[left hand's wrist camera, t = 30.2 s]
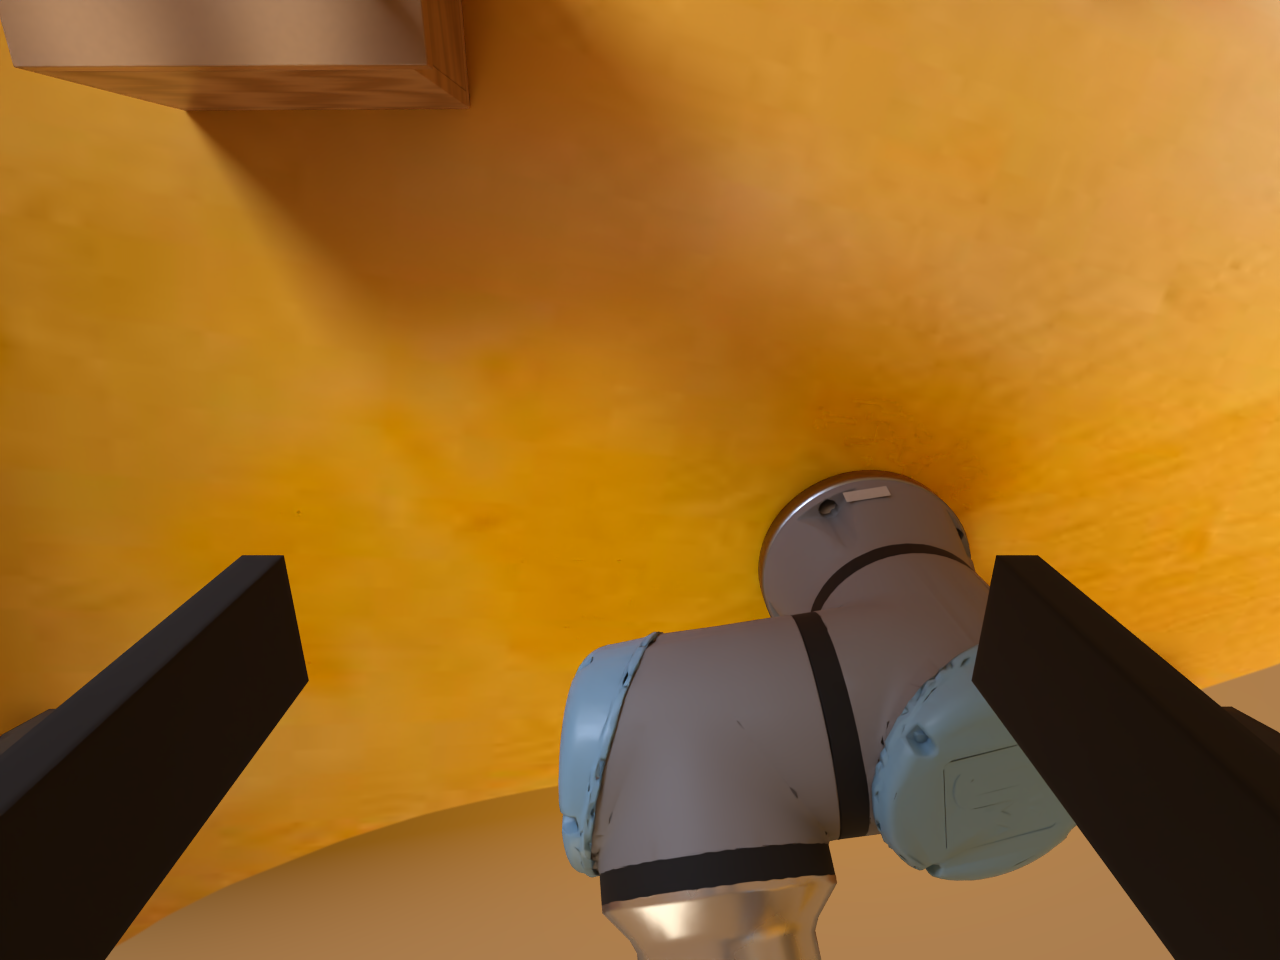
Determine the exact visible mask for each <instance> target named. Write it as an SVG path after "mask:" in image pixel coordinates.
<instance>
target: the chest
mask: <svg viewBox="0 0 1280 960" xmlns="http://www.w3.org/2000/svg"><path fill="white" fill-rule="evenodd" d="M427 9H428V20H429V30H430V41H431V51H432V62H433V69H410V70H237V71H63V72H35V73H39V74H43V75H47V76H51V77H55V78H59V79H63V80H67V81H71V82H74V83H78V84H82V85H86V86H90V87H94V88H98V89H102V90H106V91H110V92H114V93H118V94H122V95H125V96H129V97H133V98H137V99H141V100H145V101H149V102H153V103H157V104H161V105H165V106H169V107H173V108H177V109H181V110H329V109H469V108H470V100H469V88H468V76H467V63H466V51H465V38H464V26H463V13H462V1H461V0H427Z"/></svg>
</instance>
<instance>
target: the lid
mask: <svg viewBox="0 0 1280 960" xmlns="http://www.w3.org/2000/svg"><path fill="white" fill-rule="evenodd" d="M0 19H1V22H2V26H3V29H4V33H5V36H6V40H7V44H8V47H9V51H10V54H11V58H12V62H13V65H14V67H16V68H19V69H23V70H27V71H31V72H63V71H237V70H410V69H433V62H432V51H431V41H430V30H429V20H428V9H427V0H0Z"/></svg>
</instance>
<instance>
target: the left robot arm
mask: <svg viewBox="0 0 1280 960" xmlns="http://www.w3.org/2000/svg"><path fill="white" fill-rule="evenodd" d="M758 572H759V582H760V588H761V591H762V594H763V598H764V601H765V604H766V607H767V609H768V611H769V614H770V616H771V618H766V619H759V620H753V621H747V622H740V623H734V624H728V625H721V626H715V627H708V628H701V629H693V630H686V631H679V632H672V633H663V632H653V633H651V634H649V635H648V636H646V637H644V638H639V639H635V640H630V641H626V642H621V643H616V644H611V645H606V646H603V647H600V648H598V649H596V650H595V651H593V652H592V653H590V654H589V655H588V656H587V657H586V658H585V659H584V661H583V662H582V664H581V665H580V666H579V668H578V670H577V673H576V675H575V677H574V679H573V681H572V684H571V687H570V690H569V694H568V698H567V702H566V707H565V713H564V719H563V726H562V733H561V744H560V758H559V806H560V811H561V813H563V825H562V835H563V842H564V847H565V851H566V855H567V857H568V860H569V862H570V864H571V865H572V867H573V868H574V869H575V870H577V871H578V872H581V873H585V874H586V875H588V876H589V877H596V876H600V886H601V901H602V913H603V914H604V915H605V916H606V917H607V918H608V919H609V920H610V921H611V922H612V923H613V924H614V925H615V926H616V927H617V928H618V929H619V930H620V931H621V932H622V933H623V934H624V935H625V936H626V937H627V938H628V939H629V940H630V942H631V943H632V945H633V947H634V949H635V950H636V952H637V957H638V960H821V956H820V952H819V947H818V942H817V937H816V932H815V928H816V924H817V920H818V917H819V915H820V913H821V911H822V909H823V908H824V906H825V904H826V902H827V900H828V898H829V897H830V895H831V893H832V891H833V889H834V887H835V886H836V884H837V881H836V875H835V872H834V867H833V863H832V858H831V854H830V850H829V841H832V840H839V839H845V838H853V837H860V836H869V835H876V834H881V835H882V838H883V840H884V842H885V843H887V844H888V846H889V848H891V849H893V850H894V851H895V853H896V854H897V855H898V856H899V857H900V858H901V859H902V860H903V861H904V862H906V863H907V864H908V865H909V866H911V867H913V868H915V869H918V870H923V869H925V868H926V870H927V871H928V873H929V874H931V875H932V876H934V877H937V878H941V879H946V880H979V879H985V878H990V877H995V876H998V875H1002V874H1005V873H1008V872H1011V871H1014V870H1016V869H1019V868H1021V867H1023V866H1025V865H1027V864H1029V863H1031V862H1033V861H1035V860H1036V859H1038V858H1040V857H1042V856H1043V855H1045V854H1046V853H1048V852H1049V851H1050V850H1051V849H1053V848H1054V847H1055V846H1057V845H1058V844H1059V843H1061V842H1062V841H1063V840H1064V839H1065V838H1066V837H1067V835H1068V833H1069V832H1070V831H1071V829H1072V828H1074V827H1075V826H1076V825H1077V826H1078V827H1079V829H1080V830H1081V832H1082V833H1083V834H1084V836H1085V837H1086V838H1087V840H1088V841H1089V842H1090V844H1091V845H1092V847H1093V848H1094V849H1095V851H1096V852H1097V854H1098V855H1099V856H1100V858H1101V859H1102V860H1103V862H1104V863H1105V864H1106V866H1107V867H1108V869H1109V870H1110V871H1111V873H1112V874H1113V875H1114V877H1115V878H1116V880H1117V881H1118V882H1119V884H1120V885H1121V886H1122V888H1123V889H1124V891H1125V892H1126V893H1127V895H1128V896H1129V897H1130V899H1131V900H1132V901H1133V903H1134V904H1135V906H1136V907H1137V908H1138V910H1139V911H1140V912H1141V914H1142V915H1143V916H1144V918H1145V919H1146V921H1147V922H1148V923H1149V925H1150V926H1151V927H1152V929H1153V930H1154V931H1155V933H1156V934H1157V936H1158V937H1159V938H1160V940H1161V941H1162V943H1163V944H1164V945H1165V947H1166V948H1167V949H1168V951H1169V952H1170V953H1171V955H1172V956H1173V958H1174V959H1175V960H1280V733H1279V732H1277V731H1275V730H1274V729H1272V728H1270V727H1268V726H1266V725H1264V724H1263V723H1261V722H1259V721H1257V720H1255V719H1253V718H1251V717H1250V716H1248V715H1246V714H1244V713H1242V712H1240V711H1239V710H1237V709H1235V708H1233V707H1221V706H1220V705H1218V704H1217V703H1216V702H1215V701H1213V700H1212V699H1211V698H1210V697H1209V696H1208V695H1206V694H1205V693H1204V692H1203V691H1202V690H1200V689H1199V688H1198V687H1197V686H1195V685H1194V684H1193V683H1192V682H1191V681H1189V680H1188V679H1187V678H1186V677H1185V676H1183V675H1182V674H1181V673H1180V672H1178V671H1177V670H1176V669H1175V668H1174V667H1172V666H1171V665H1170V664H1169V663H1168V662H1166V661H1165V660H1164V659H1163V658H1162V657H1160V656H1159V655H1158V654H1157V653H1155V652H1154V651H1153V650H1152V649H1151V648H1149V647H1148V646H1147V645H1146V644H1145V643H1143V642H1142V641H1141V640H1140V639H1139V638H1137V637H1136V636H1135V635H1134V634H1132V633H1131V632H1130V631H1129V630H1128V629H1126V628H1125V627H1124V626H1123V625H1122V624H1120V623H1119V622H1118V621H1117V620H1116V619H1114V618H1113V617H1112V616H1111V615H1109V614H1108V613H1107V612H1106V611H1105V610H1103V609H1102V608H1101V607H1100V606H1099V605H1097V604H1096V603H1095V602H1094V601H1092V600H1091V599H1090V598H1089V597H1088V596H1086V595H1085V594H1084V593H1083V592H1082V591H1080V590H1079V589H1078V588H1077V587H1076V586H1074V585H1073V584H1072V583H1071V582H1069V581H1068V580H1067V579H1066V578H1065V577H1063V576H1062V575H1061V574H1060V573H1059V572H1057V571H1056V570H1055V569H1054V568H1053V567H1051V566H1050V565H1049V564H1048V563H1046V562H1045V561H1044V560H1043V559H1042V558H1040V557H1039V556H1038V555H996V559H995V564H994V569H993V574H992V579H991V584H990V586H989V585H988V584H987V583H986V582H985V581H984V580H983V579H982V578H981V577H980V576H978V575H977V573H976V572H975V569H974V565H973V562H972V560H971V554H970V549H969V543H968V540H967V536H966V533H965V531H964V529H963V526H962V524H961V523H960V521H959V519H958V518H957V516H956V515H955V514H954V512H953V511H952V510H951V509H950V508H949V507H948V505H947V504H946V503H944V502H943V501H942V500H941V499H940V498H939V497H938V496H937V495H936V494H934V493H933V492H932V491H931V490H930V489H928V488H927V487H925V486H924V485H923V484H921V483H919V482H917V481H915V480H913V479H911V478H909V477H906V476H904V475H900V474H897V473H892V472H887V471H878V470H861V471H852V472H847V473H842V474H839V475H835V476H832V477H830V478H827V479H824V480H822V481H820V482H818V483H816V484H814V485H812V486H811V487H809V488H807V489H806V490H804V491H803V492H801V493H800V494H799V495H797V496H796V497H795V498H794V499H793V500H791V501H790V502H789V503H788V504H787V505H786V506H785V507H784V508H783V509H782V511H781V512H780V513H779V514H778V516H777V517H776V518H775V520H774V521H773V523H772V524H771V526H770V528H769V530H768V532H767V534H766V536H765V539H764V541H763V544H762V548H761V551H760V557H759V567H758ZM308 681H309V680H308V675H307V670H306V665H305V660H304V655H303V650H302V645H301V640H300V635H299V630H298V625H297V620H296V615H295V610H294V605H293V600H292V595H291V589H290V584H289V579H288V574H287V569H286V564H285V559H284V555H242V556H241V557H240V558H238V559H237V560H236V561H235V562H234V563H232V564H231V565H230V566H229V567H227V568H226V569H225V570H224V571H223V572H221V573H220V574H219V575H218V576H217V577H215V578H214V579H213V580H212V581H211V582H209V583H208V584H207V585H206V586H204V587H203V588H202V589H201V590H200V591H198V592H197V593H196V594H195V595H194V596H192V597H191V598H190V599H189V600H188V601H186V602H185V603H184V604H183V605H181V606H180V607H179V608H178V609H177V610H175V611H174V612H173V613H172V614H171V615H169V616H168V617H167V618H166V619H164V620H163V621H162V622H161V623H160V624H158V625H157V626H156V627H155V628H154V629H152V630H151V631H150V632H149V633H148V634H146V635H145V636H144V637H143V638H141V639H140V640H139V641H138V642H137V643H135V644H134V645H133V646H132V647H131V648H129V649H128V650H127V651H126V652H125V653H123V654H122V655H121V656H120V657H118V658H117V659H116V660H115V661H114V662H112V663H111V664H110V665H109V666H108V667H106V668H105V669H104V670H103V671H102V672H100V673H99V674H98V675H97V676H95V677H94V678H93V679H92V680H91V681H89V682H88V683H87V684H86V685H85V686H83V687H82V688H81V689H80V690H78V691H77V692H76V693H75V694H74V695H72V696H71V697H70V698H69V699H68V700H66V701H65V702H64V703H63V704H62V705H60V706H59V707H58V708H57V709H49V710H47V711H45V712H43V713H41V714H39V715H38V716H36V717H34V718H32V719H30V720H28V721H27V722H25V723H23V724H21V725H19V726H17V727H16V728H14V729H12V730H10V731H8V732H6V733H5V734H3V735H2V736H0V960H105V959H106V958H107V956H108V955H109V954H110V952H111V951H112V949H113V948H114V947H115V945H116V944H117V943H118V941H119V940H120V938H121V937H122V936H123V934H124V933H125V932H126V930H127V929H128V927H129V926H130V925H131V923H132V922H133V921H134V919H135V918H136V917H137V915H138V914H139V912H140V911H141V910H142V908H143V907H144V906H145V904H146V903H147V901H148V900H149V899H150V897H151V896H152V895H153V893H154V892H155V891H156V889H157V888H158V886H159V885H160V884H161V882H162V881H163V880H164V878H165V877H166V875H167V874H168V873H169V871H170V870H171V869H172V867H173V866H174V864H175V863H176V862H177V860H178V859H179V858H180V856H181V855H182V854H183V852H184V851H185V849H186V848H187V847H188V845H189V844H190V843H191V841H192V840H193V838H194V837H195V836H196V834H197V833H198V832H199V830H200V829H201V828H202V826H203V825H204V823H205V822H206V821H207V819H208V818H209V817H210V815H211V814H212V812H213V811H214V810H215V808H216V807H217V806H218V804H219V803H220V801H221V800H222V799H223V797H224V796H225V795H226V793H227V792H228V791H229V789H230V788H231V786H232V785H233V784H234V782H235V781H236V780H237V778H238V777H239V775H240V774H241V773H242V771H243V770H244V769H245V767H246V766H247V765H248V763H249V762H250V760H251V759H252V758H253V756H254V755H255V754H256V752H257V751H258V749H259V748H260V747H261V745H262V744H263V743H264V741H265V740H266V738H267V737H268V736H269V734H270V733H271V732H272V730H273V729H274V728H275V726H276V725H277V723H278V722H279V721H280V719H281V718H282V717H283V715H284V714H285V712H286V711H287V710H288V708H289V707H290V706H291V704H292V703H293V702H294V700H295V699H296V697H297V696H298V695H299V693H300V692H301V691H302V689H303V688H304V686H305V685H306V684H307V682H308Z"/></svg>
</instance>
